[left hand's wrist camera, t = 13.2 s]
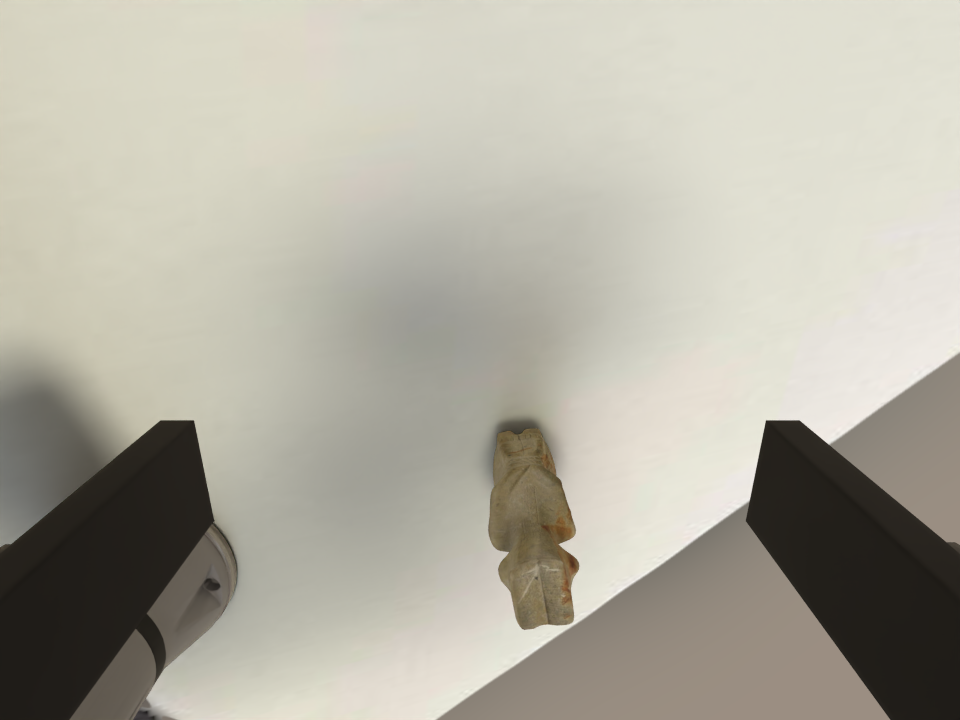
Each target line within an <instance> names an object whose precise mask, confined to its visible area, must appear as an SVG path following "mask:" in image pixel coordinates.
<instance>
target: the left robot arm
mask: <svg viewBox="0 0 960 720" xmlns="http://www.w3.org/2000/svg"><path fill="white" fill-rule="evenodd" d="M213 522H214V518H213V513H212V508H211V503H210V498H209V493H208V488H207V483H206V478H205V473H204V468H203V463H202V458H201V453H200V448H199V443H198V438H197V433H196V428H195V423H194V421H159V422H158V423H157V424H156V425H155V426H153V427H152V428H151V429H150V430H149V431H147V432H146V433H145V434H144V435H142V436H141V437H140V438H139V439H138V440H136V441H135V442H134V443H133V444H132V445H130V446H129V447H128V448H127V449H126V450H124V451H123V452H122V453H121V454H120V455H118V456H117V457H116V458H115V459H114V460H112V461H111V462H110V463H109V464H108V465H106V466H105V467H104V468H103V469H101V470H100V471H99V472H98V473H97V474H95V475H94V476H93V477H92V478H91V479H89V480H88V481H87V482H86V483H85V484H83V485H82V486H81V487H80V488H79V489H77V490H76V491H75V492H74V493H73V494H71V495H70V496H69V497H68V498H67V499H65V500H64V501H63V502H62V503H60V504H59V505H58V506H57V507H56V508H54V509H53V510H52V511H51V512H50V513H48V514H47V515H46V516H45V517H44V518H42V519H41V520H40V521H39V522H38V523H36V524H35V525H34V526H33V527H32V528H30V529H29V530H28V531H27V532H26V533H24V534H23V535H22V536H21V537H19V538H18V539H17V540H16V541H15V542H13V543H12V544H5V545H4V546H2V547H0V720H133V719H134V717H135V715H136V714H137V712H138V710H139V709H140V707H141V705H142V704H143V702H144V700H145V699H146V697H147V696H148V694H149V692H150V691H151V689H152V687H153V685H154V684H155V682H156V681H157V679H158V677H159V676H160V674H161V673H162V671H163V670H164V668H165V667H167V666H168V665H169V664H170V663H171V662H172V661H173V660H175V659H176V658H177V657H178V656H179V655H180V654H181V653H183V652H184V651H185V650H186V649H187V648H188V647H189V646H190V645H192V644H193V643H194V642H195V641H196V640H197V639H198V638H200V637H201V636H202V635H203V634H204V633H205V632H206V631H208V630H209V629H210V628H211V627H212V626H213V624H214V623H215V622H216V621H217V620H218V619H219V617H220V616H221V615H222V613H223V612H224V610H225V608H226V606H227V604H228V603H229V601H230V599H231V597H232V595H233V593H234V590H235V586H236V580H237V570H236V563H235V559H234V556H233V553H232V551H231V549H230V547H229V545H228V543H227V542H226V540H225V538H224V537H223V536H222V534H221V533H220V532H219V531H218V529H217V528H216V527H215V526H214V525H213V524H212V523H213ZM746 522H747V523H748V525H749V526H750V527H751V529H752V530H753V531H754V533H755V534H756V535H757V537H758V538H759V540H760V541H761V542H762V544H763V545H764V547H765V548H766V549H767V551H768V552H769V553H770V555H771V556H772V558H773V559H774V560H775V562H776V563H777V564H778V566H779V567H780V569H781V570H782V571H783V573H784V574H785V575H786V577H787V578H788V580H789V581H790V582H791V584H792V585H793V586H794V588H795V589H796V591H797V592H798V593H799V595H800V596H801V597H802V599H803V600H804V602H805V603H806V604H807V606H808V607H809V608H810V610H811V611H812V612H813V614H814V615H815V617H816V618H817V619H818V621H819V622H820V623H821V625H822V626H823V628H824V629H825V630H826V632H827V633H828V635H829V636H830V637H831V639H832V640H833V641H834V643H835V644H836V646H837V647H838V648H839V650H840V651H841V652H842V654H843V655H844V656H845V658H846V659H847V661H848V662H849V663H850V665H851V666H852V667H853V669H854V670H855V671H856V673H857V674H858V676H859V677H860V678H861V680H862V681H863V683H864V684H865V685H866V687H867V688H868V689H869V691H870V692H871V694H872V695H873V696H874V698H875V699H876V700H877V702H878V703H879V705H880V706H881V707H882V709H883V710H884V711H885V713H886V714H887V716H888V717H889V718H890V720H960V545H959V544H957V543H954V542H953V543H951V542H945V541H944V540H943V539H942V538H941V537H939V536H938V535H937V534H936V533H934V532H933V531H932V530H931V529H930V528H928V527H927V526H926V525H925V524H924V523H922V522H921V521H920V520H919V519H918V518H916V517H915V516H914V515H913V514H911V513H910V512H909V511H908V510H907V509H906V508H904V507H903V506H902V505H901V504H899V503H898V502H897V501H896V500H895V499H893V498H892V497H891V496H890V495H889V494H887V493H886V492H885V491H884V490H883V489H881V488H880V487H879V486H878V485H877V484H875V483H874V482H873V481H872V480H870V479H869V478H868V477H867V476H866V475H864V474H863V473H862V472H861V471H860V470H859V469H857V468H856V467H855V466H854V465H852V464H851V463H850V462H849V461H848V460H846V459H845V458H844V457H843V456H842V455H840V454H839V453H838V452H837V451H836V450H834V449H833V448H832V447H831V446H830V445H828V444H827V443H826V442H825V441H824V440H822V439H821V438H820V437H819V436H818V435H816V434H815V433H814V432H813V431H811V430H810V429H809V428H808V427H807V426H805V425H804V424H803V423H802V422H801V421H766V423H765V428H764V433H763V438H762V443H761V448H760V453H759V458H758V463H757V468H756V473H755V478H754V483H753V488H752V493H751V498H750V503H749V508H748V513H747V518H746Z"/></svg>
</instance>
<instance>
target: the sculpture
mask: <svg viewBox="0 0 960 720" xmlns="http://www.w3.org/2000/svg"><path fill="white" fill-rule="evenodd" d="M493 478H494V486H495V487H494V488H493V489H492V493H491V499H490V518H489V529H488V531H489V537H490V540H491V542H492V544H493V546H494V547H495V548H496V549H497V550H500V551H505V552H509V554H508V555H507V556H506V557H505V558H504V559H503V561H502V562H501V563H500V565H499V569H498V571H499V576H500V579H501V581H502V582H503V583H504V584H505V586H506V587H507V588H508V589H509V591H510V592H511V596H512V601H513V606H514V611H515V616H516V619H517V622H518V624H519V626H520V627H521V628H522V629H524V630H526V629H534V628H536V627H538V626H541V625H546V624H549V625H567V624H570V623H572V622H573V620H574V611H573V603H572V596H571V584H572V581H573V578H574V576H575V575H576V573H577V572H578V570H579V562H578V561H577V559H576V558H575V557H574V556H572V555H571V554H569V553H568V552H567V551H565V550H564V549H563V548H562V547H560V546H559V545H558V544H560V543H562V542H565V541H567V540H570V539H571V538H572V537H574V535H575V533H576V529H575V525H574V522H573V519H572V516H571V511H570V509H569V506H568V503H567V500H566V497H565V493H564V490H563V488H562V483H561V481H560V479H559V478H558V477H557V476H556V470H555V464H554V461H553V458H552V455H551V453H550V450H549V448H548V446H547V444H546V442H545V441H544V439H543V437H542V435H541V432H540V430H539V429H536V428H532V429H525V430H524V431H523V432H522V433H521V434H514V433H513V432H512V431H505V432H501V433H498V435H497V447H496V450H495V455H494V464H493Z"/></svg>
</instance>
